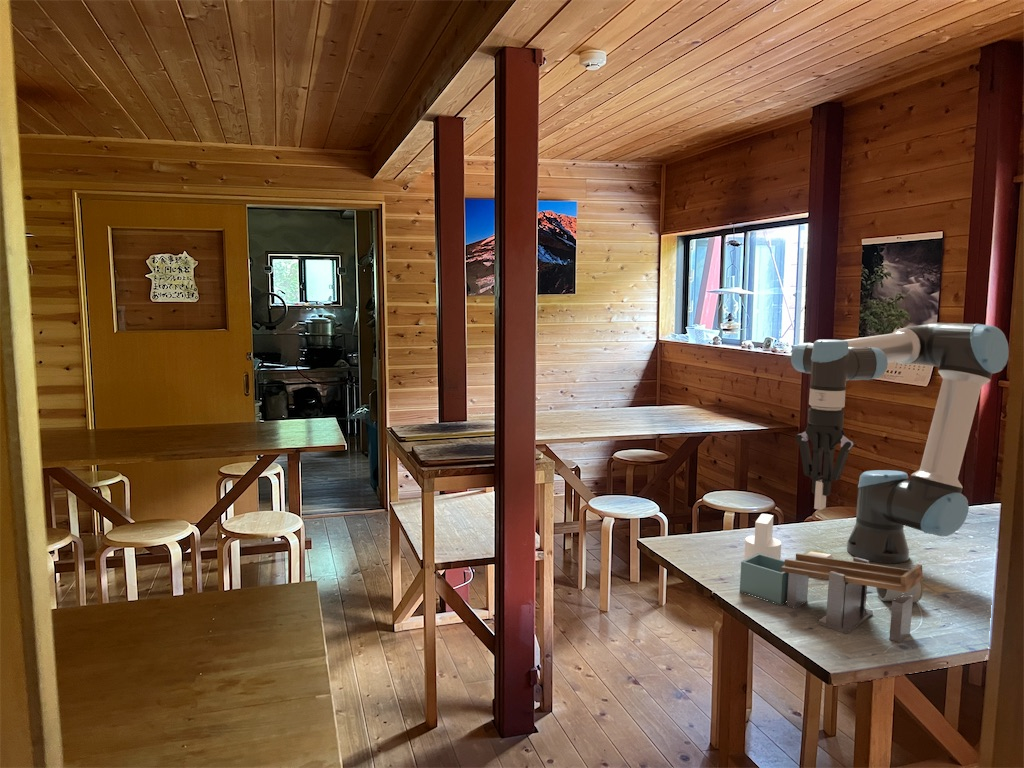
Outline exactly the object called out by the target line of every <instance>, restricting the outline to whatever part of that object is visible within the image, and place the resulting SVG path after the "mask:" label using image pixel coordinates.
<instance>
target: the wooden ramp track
mask: <svg viewBox="0 0 1024 768" xmlns="http://www.w3.org/2000/svg"><path fill="white" fill-rule="evenodd" d="M832 557H833V555H832V554H830V553H828V554H825V553H818V552H809V553H807V554H803V553H798V552H797V553H795V559H789V558H785V559H784V561H785V565H784V566H782V567H781V571H782V572H788V573H794V574H800V575H806V576H809V577H812V578H819V579H825V580H829V572H830V571H833V572H837V573H840V574H844V575H846V578H845V582H848V583H854V584H860V585H866V586H867V587H873V588H876V587H878V588H884V589H890V590H896V591H902V592H907V591H908V590H909V589H911V588H912V587H913V586H915V585H916V584H917V583H918V582H920V581H921V580H922V581H923V580H924V576H923V575H924V574H923V565H922V564H916V565H915V566H913V567H912V568H911V569H907V568H899V567H893V566H889V565H888V566H887V565H882V564H881V565H879V564H873V563H869V564H867V563H860V562H854V561H853V560H852V561H851V560H846V559H838V558H834V557H833V558H834V559H833V558H832Z"/></svg>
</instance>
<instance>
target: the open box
mask: <svg viewBox="0 0 1024 768" xmlns="http://www.w3.org/2000/svg"><path fill="white" fill-rule="evenodd" d="M740 562H741V563H740V576H739V578H740V579H739V593H741V592H743V593H742V594H744V593H746V594H745V595H747V594H750V595H753V596H756V597H759V598H762V599H765V600H768V601H770V602H769V603H771V602H774V603H776V604H775V605H777V604H779V605H778V606H780V605H781V606H782V604H783V603H784V604H786V603H787V602H786V601H787V592H788V577H789V573H788V572H782V571H781V567H782V566H784V565H785V560H783V559H781V558H780V559H776V558H773V557H769V556H766V555H762V554H759V553H758V554H756V555H754V556H752V557H750V558H748V559H746V560H741V561H740ZM750 595H749V596H750ZM753 596H752V597H753ZM756 597H755V598H756ZM759 598H758V599H759ZM762 599H761V600H762ZM765 600H764V601H765ZM768 601H767V602H768ZM785 602H786V603H785ZM774 603H773V604H774ZM784 604H783V605H784Z"/></svg>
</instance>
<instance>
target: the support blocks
mask: <svg viewBox="0 0 1024 768" xmlns="http://www.w3.org/2000/svg"><path fill="white" fill-rule="evenodd" d="M852 561H854V562H860V563H867V564H870V561H869V560H865V559H862V558H859V557H856V556H853V559H852ZM809 578H810V576H806V575H800V574H794V573H789V577H788V592H787V602H786V606H787V605H789V606H791V607H790V608H792V607H794V608H793V609H796V607H797V608H798V607H800V606H801V605H803V604H805V603H806V602H808V594H809V591H808V590H809ZM845 578H846V575H844V574H840V573H837V572H833V571H830V572H829V579H828V586H827V599H826V600H827V603H826V613H825V616H822V617H821V618H820V619H819V620H818V623H817V625H820V626H822V627H826V628H827V629H828V628H829V629H832V630H834V631H838V632H840V633H843V634H845V635H846V634H848V633H850V632H851V631H852V630H853V629H855V628H856V627H857V626H859V625H860V624H862V623H863V622H864V621H866V620H868V618H869V617H871V616H872V615H873V612H874V611H873V609H869V608H866V606H867V594H868V593H867V592H868V586H866V585H860V584H854V583H848V582H845ZM804 602H805V603H804ZM802 603H803V604H802ZM891 603H892V604H891V614H890V626H889V638H888V639H889V640H890V641H893V642H896V643H899V644H900V643H901V642H902V641H904V640H905V639H906V638H907V637H908V636H909V635H910V634H911V625H912V624H911V623H912V617H913V616H912V613H913V603H914V602H913V596H912V595H909V594H905V593H902V594H901V595H899V596H898V597H897V598H895V599H894V600H893V601H891ZM799 605H800V606H799ZM789 606H788V607H789Z"/></svg>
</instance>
